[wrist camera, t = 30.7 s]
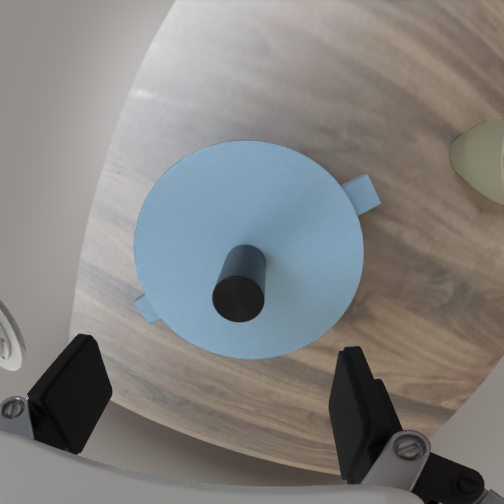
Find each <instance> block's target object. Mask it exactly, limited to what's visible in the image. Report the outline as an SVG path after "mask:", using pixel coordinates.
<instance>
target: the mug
mask: <svg viewBox="0 0 504 504" xmlns="http://www.w3.org/2000/svg"><path fill="white" fill-rule="evenodd" d="M450 161H451V164H452V166H453V168H454V170H455V171H456V172H457V173H458V174H459V175H460V176H461V177H462V178H463V179H465V180H466V181H467V182H468V183H469V184H470V185H471V186H472V187H473V188H474V189H475V190H477V191H478V192H479V193H481V194H482V195H484V196H485V197H487V198H489V199H491V200H493V201H495V202H497V203H499V204H501V205H503V206H504V119H497V120H491V121H487V122H483V123H481V124H478V125H476V126H475V127H473V128H471V129H470V130H468V131H467V132H465V133H464V134H462V135H461V136H459V137H458V138H456V139H455V140H454V142H453V143H452V145H451V148H450Z"/></svg>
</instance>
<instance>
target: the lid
mask: <svg viewBox="0 0 504 504" xmlns="http://www.w3.org/2000/svg"><path fill="white" fill-rule="evenodd" d="M134 258H135V265H136V270H137V275H138V278H139V281H140V284H141V287H142V289H143V291H144V293H145V295H146V297H147V299H148V301H149V302H150V304H151V306H152V307H153V309H154V310H155V312H156V313H157V314H158V315H159V316H160V318H161V319H162V320H163V321H164V322H165V323H166V324H167V325H168V326H169V327H170V328H171V329H172V330H173V331H174V332H176V333H177V334H178V335H180V336H181V337H182V338H184V339H185V340H187V341H189V342H190V343H192V344H194V345H196V346H198V347H200V348H202V349H204V350H207V351H209V352H212V353H215V354H219V355H222V356H227V357H232V358H241V359H263V358H271V357H276V356H280V355H284V354H288V353H291V352H293V351H296V350H298V349H301V348H303V347H305V346H307V345H308V344H310V343H312V342H314V341H315V340H317V339H318V338H319V337H321V336H322V335H324V334H325V333H326V332H327V331H328V330H329V329H330V328H332V327H333V326H334V325H335V323H336V322H337V321H338V320H339V319H340V318H341V317H342V315H343V314H344V312H345V311H346V309H347V308H348V307H349V305H350V303H351V301H352V299H353V297H354V295H355V293H356V291H357V288H358V285H359V282H360V279H361V274H362V269H363V261H364V244H363V234H362V230H361V226H360V222H359V219H358V216H357V214H356V211H355V209H354V206H353V204H352V203H351V201H350V199H349V197H348V196H347V194H346V192H345V191H344V190H343V188H342V187H341V186H340V184H339V183H338V182H337V181H336V179H335V178H334V177H333V176H331V175H330V174H329V173H328V172H327V171H326V170H325V169H324V168H323V167H322V166H320V165H319V164H317V163H316V162H315V161H313V160H312V159H310V158H309V157H307V156H305V155H303V154H301V153H299V152H297V151H295V150H293V149H290V148H287V147H284V146H281V145H278V144H274V143H269V142H264V141H251V140H241V141H229V142H224V143H219V144H215V145H211V146H208V147H206V148H203V149H201V150H198V151H196V152H194V153H192V154H190V155H188V156H187V157H185V158H183V159H182V160H180V161H179V162H178V163H176V164H175V165H174V166H172V167H171V168H170V169H169V170H168V171H167V172H166V173H165V174H164V175H163V176H162V177H161V178H160V179H159V180H158V181H157V183H156V184H155V185H154V187H153V188H152V190H151V191H150V192H149V194H148V196H147V198H146V200H145V202H144V204H143V206H142V208H141V211H140V214H139V217H138V220H137V225H136V230H135V237H134Z"/></svg>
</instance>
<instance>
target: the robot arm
mask: <svg viewBox="0 0 504 504" xmlns="http://www.w3.org/2000/svg"><path fill="white" fill-rule="evenodd" d="M10 355H11V346H10V342H9V339H8V337H7V334H6V332H5V330H4V328H3V327H2V325H1V323H0V361H2V362H4V361H6V360H7V359H9V357H10ZM27 395H28V397H29V399H28V401H27V400H26V399H25V398H23V397H21V396H12V397H9V398H7V399H5V400H4V401H3V402H2V403H1V404H0V504H504V498H502V497H501V496H500V495H499V494H497V493H496V492H494V491H493V490H492V489H490V490H489V491H488V490H486V489H485V488H484V480H483V478H482V476H481V475H480V474H479V473H478V472H477V471H475V470H473V469H471V468H468V467H466V466H463V465H460V464H458V463H455V462H453V461H451V460H448V459H446V458H443V457H441V456H438V455H436V454H434V453H431V452H430V451H431V445H430V442H429V440H428V438H427V437H426V436H425V435H423V434H422V433H420V432H418V431H414V430H403V429H402V427H401V424H400V422H399V419H398V417H397V414H396V412H395V409H394V407H393V405H392V402H391V400H390V397H389V395H388V393H387V390H386V388H385V386H384V383H383V382H382V380H381V379H374V378H373V375H372V373H371V370H370V368H369V366H368V363H367V361H366V358H365V356H364V354H363V351H362V349H361V347H360V346H355V347H345V348H344V350H343V351H339V354H338V359H337V364H336V370H335V375H334V380H333V385H332V390H331V394H330V399H329V413H330V418H331V423H332V429H333V434H334V439H335V444H336V450H337V455H338V460H339V466H340V472H341V477H342V479H343V480H346V479H347V483H348V484H344V485H322V486H302V487H252V486H233V485H220V484H209V483H200V482H192V481H184V480H178V479H171V478H166V477H160V476H154V475H149V474H145V473H140V472H135V471H131V470H127V469H123V468H119V467H115V466H111V465H107V464H104V463H100V462H97V461H93V460H90V459H87V458H84V457H81V456H78V455H77V454H78V453H81V452H82V450H83V448H84V446H85V444H86V443H87V440H88V439H89V437H90V435H91V433H92V431H93V429H94V428H95V426H96V424H97V422H98V420H99V418H100V416H101V415H102V413H103V411H104V409H105V407H106V405H107V404H108V402H109V400H110V398H111V396H112V387H111V384H110V381H109V378H108V375H107V372H106V369H105V366H104V363H103V360H102V357H101V353H100V350H99V347H98V343H97V341H96V340H95V339H94V338H93V336H91V335H85V334H78V335H77V336H76V337H75V338H74V339H73V340H72V341H71V342H70V344H69V345H68V346H67V347H66V348H65V349H64V351H63V352H62V353H61V354H60V355H59V356H58V358H57V359H56V360H55V361H54V362H53V363H52V364H51V366H50V367H49V368H48V369H47V370H46V372H45V373H44V374H43V375H42V377H41V378H40V379H39V380H38V381H37V382H36V384H35V385H34V386H33V388H32V389H31V390H30V391H29V392H28V394H27Z"/></svg>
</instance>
